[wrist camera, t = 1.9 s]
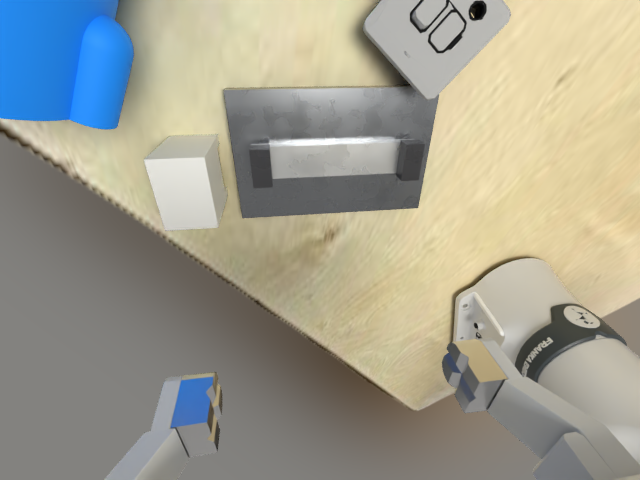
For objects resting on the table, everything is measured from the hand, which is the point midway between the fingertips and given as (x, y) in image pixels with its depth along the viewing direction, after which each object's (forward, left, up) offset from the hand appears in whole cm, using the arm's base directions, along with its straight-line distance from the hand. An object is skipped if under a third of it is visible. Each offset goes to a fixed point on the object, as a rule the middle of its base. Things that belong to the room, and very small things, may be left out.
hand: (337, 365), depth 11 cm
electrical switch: (+14, -16, -29) cm, 36 cm away
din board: (-1, -4, -29) cm, 29 cm away
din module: (-2, +10, -29) cm, 31 cm away
